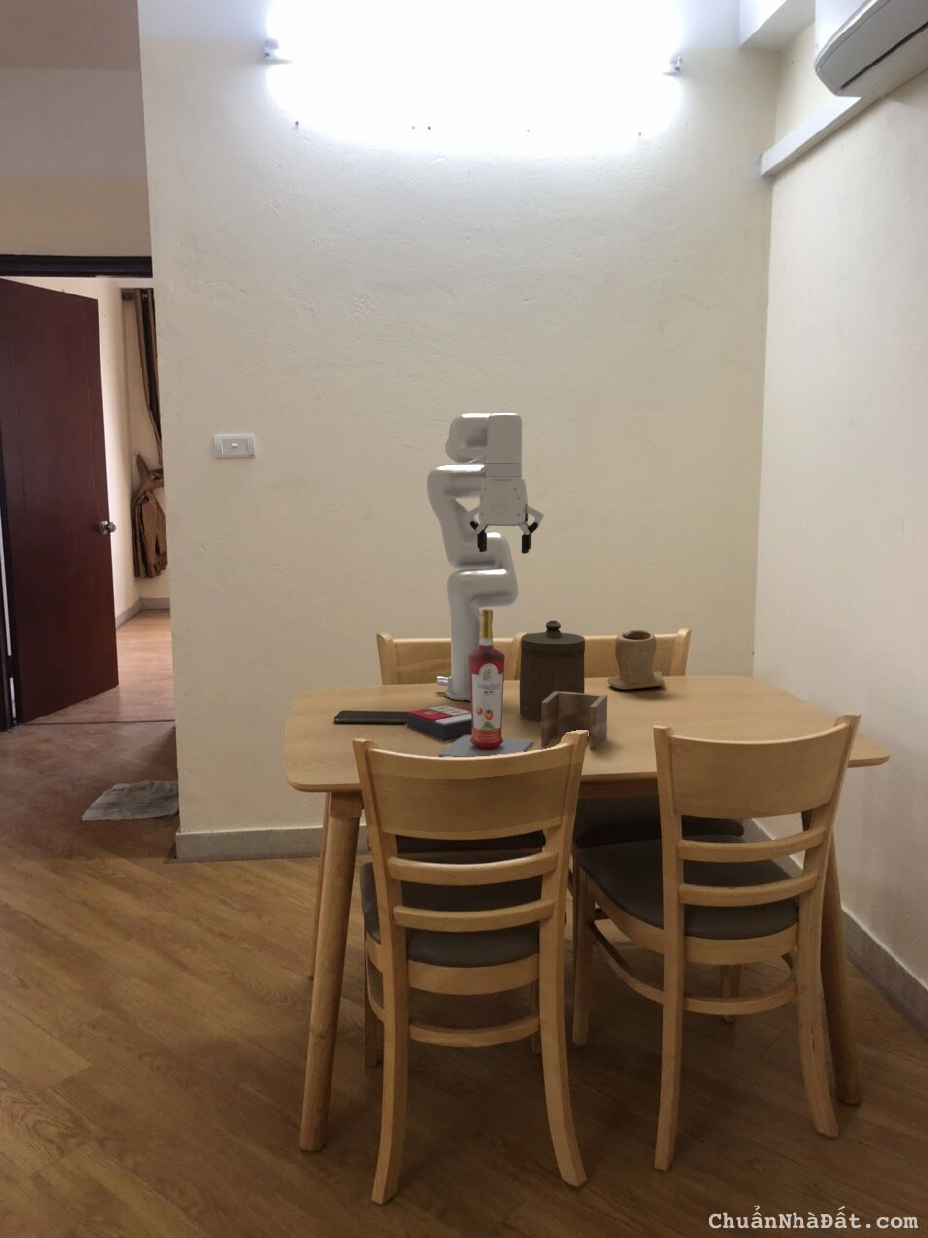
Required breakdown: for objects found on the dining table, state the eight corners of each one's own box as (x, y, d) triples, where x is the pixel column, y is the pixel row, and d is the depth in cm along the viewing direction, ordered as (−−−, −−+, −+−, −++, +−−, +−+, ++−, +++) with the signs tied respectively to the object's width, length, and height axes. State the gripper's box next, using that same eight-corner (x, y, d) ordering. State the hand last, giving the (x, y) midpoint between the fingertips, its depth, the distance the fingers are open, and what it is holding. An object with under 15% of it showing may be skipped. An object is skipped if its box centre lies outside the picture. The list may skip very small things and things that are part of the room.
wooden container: (588, 709, 227) (590, 617, 223) (578, 725, 213) (580, 627, 209) (526, 705, 231) (527, 614, 227) (513, 721, 217) (513, 624, 213)
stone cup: (620, 695, 240) (621, 636, 238) (602, 684, 251) (603, 628, 249) (676, 691, 244) (678, 633, 241) (655, 681, 255) (657, 625, 253)
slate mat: (438, 756, 191) (438, 753, 191) (465, 736, 205) (465, 733, 204) (510, 764, 185) (510, 761, 185) (532, 743, 199) (532, 740, 199)
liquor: (471, 752, 191) (470, 613, 187) (466, 742, 198) (465, 608, 194) (507, 751, 192) (507, 612, 188) (501, 740, 199) (500, 607, 195)
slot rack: (541, 744, 199) (541, 702, 197) (554, 731, 208) (554, 690, 207) (595, 750, 195) (596, 706, 193) (606, 736, 204) (607, 695, 203)
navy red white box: (446, 703, 219) (485, 713, 207) (446, 721, 220) (486, 733, 208) (405, 710, 213) (443, 722, 201) (406, 729, 214) (444, 742, 201)
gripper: (460, 472, 205) (460, 552, 208) (538, 472, 199) (537, 555, 202) (472, 472, 212) (472, 549, 215) (548, 472, 206) (547, 552, 209)
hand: (504, 552), depth 208 cm, fingers open, 9 cm apart
